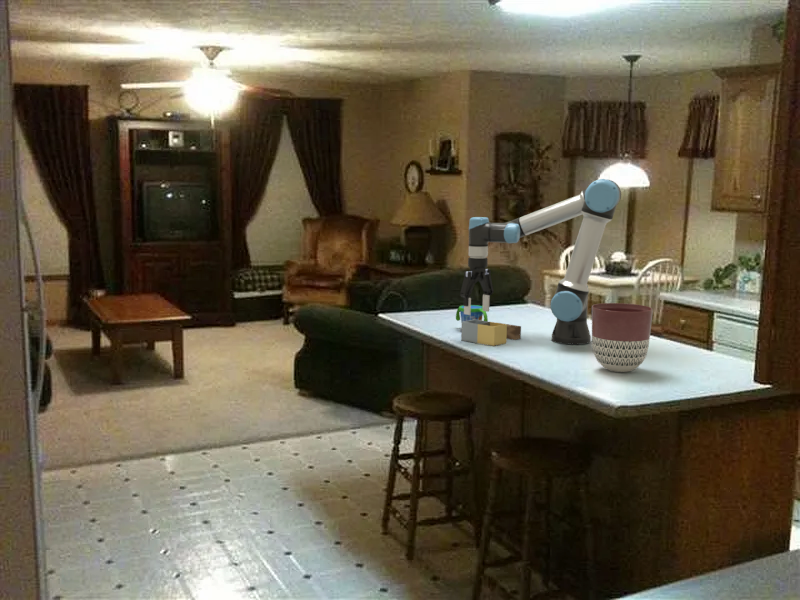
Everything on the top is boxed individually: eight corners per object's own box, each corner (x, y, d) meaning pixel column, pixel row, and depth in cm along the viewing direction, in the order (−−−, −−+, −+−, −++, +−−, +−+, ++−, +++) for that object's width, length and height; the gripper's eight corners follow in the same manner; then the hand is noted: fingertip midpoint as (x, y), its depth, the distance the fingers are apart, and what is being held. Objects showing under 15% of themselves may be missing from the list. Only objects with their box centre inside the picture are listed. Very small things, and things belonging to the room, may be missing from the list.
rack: (520, 338, 331) (521, 326, 330) (514, 339, 328) (515, 327, 327) (496, 334, 339) (496, 322, 338) (490, 335, 336) (490, 323, 335)
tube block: (506, 343, 321) (506, 324, 320) (493, 346, 315) (494, 326, 314) (474, 337, 331) (474, 319, 330) (461, 340, 325) (461, 321, 324)
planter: (613, 379, 263) (616, 313, 260) (577, 367, 281) (579, 304, 278) (661, 374, 271) (665, 310, 268) (623, 362, 289) (626, 301, 286)
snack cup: (449, 329, 350) (449, 305, 349) (467, 326, 357) (467, 303, 356) (475, 334, 338) (475, 310, 337) (493, 331, 345) (494, 307, 344)
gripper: (488, 254, 332) (487, 308, 335) (451, 258, 315) (450, 314, 318) (503, 256, 327) (502, 310, 330) (466, 259, 310) (465, 317, 313)
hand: (476, 312), depth 324 cm, fingers open, 11 cm apart
